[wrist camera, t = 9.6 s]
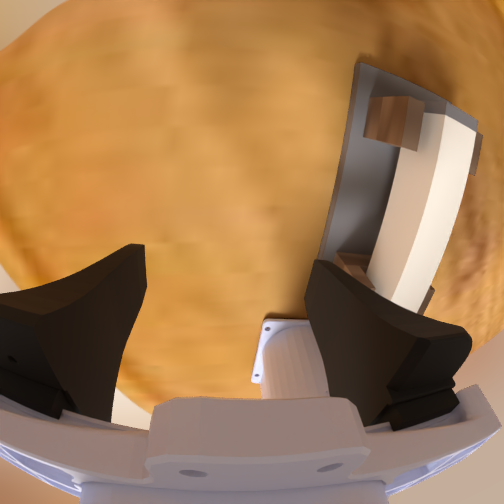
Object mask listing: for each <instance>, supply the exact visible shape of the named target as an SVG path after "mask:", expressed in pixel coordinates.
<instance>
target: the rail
mask: <svg viewBox="0 0 504 504" xmlns="http://www.w3.org/2000/svg"><path fill="white" fill-rule="evenodd" d="M421 102H423V103H425V108H424V115H423V121H422V127H421V133H420V139H419V144H418V149H417V152H416V151H412V150H409V149H405V148H402V147H401V149H400V154H399V159H398V163H397V168H396V172H395V177H394V181H393V185H392V189H391V193H390V197H389V201H388V204H387V208H386V212H385V215H384V219H383V222H382V226H381V229H380V232H379V235H378V239H377V242H376V245H375V248H374V251H373V254H372V257H371V260H370V263H369V266H368V269H367V272H366V276H367V277H368V278H369V280H370V281H371V282H372V284H373V285H374V287H375V288H376V289H375V292H376V293H378V294H379V295H381V296H383V297H384V298H386V299H388V300H390V301H392V302H393V303H395V304H397V305H399V306H401V307H403V308H406V309H408V310H410V311H413V312H415V313H417V312H418V310H419V308H420V306H421V304H422V302H423V300H424V298H425V295H426V293H427V291H428V289H429V287H430V285H431V282H432V280H433V278H434V276H435V273H436V271H437V268H438V266H439V264H440V261H441V259H442V256H443V254H444V251H445V248H446V246H447V243H448V240H449V237H450V235H451V232H452V229H453V226H454V223H455V220H456V217H457V213H458V210H459V207H460V203H461V200H462V196H463V193H464V189H465V185H466V181H467V177H468V173H469V168H470V164H471V159H472V154H473V149H474V143H475V137H476V133H477V126H478V120H476V119H475V118H473V117H472V116H470V115H468V114H467V113H465V112H464V111H462V110H460V109H459V108H457V107H455V106H453V105H452V104H450V103H448V102H442V101H421Z"/></svg>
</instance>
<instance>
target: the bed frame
mask: <svg viewBox="0 0 504 504" xmlns="http://www.w3.org/2000/svg"><path fill="white" fill-rule="evenodd" d="M421 101H442V102H448V103H450V104H452V103H451V102H449V101H447V100H445V99H444V98H442V97H440V96H438V95H436V94H434V93H432V92H430V91H428V90H426V89H424V88H422V87H420V86H418V85H416V84H414V83H412V82H410V81H407V80H405V79H403V78H401V77H398V76H396V75H393V74H391V73H389V72H386V71H383V70H381V69H378V68H376V67H373V66H370V65H367V64H365V63H362V62H360V63H357V64H355V69H354V77H353V84H352V91H351V98H350V105H349V111H348V117H347V123H346V129H345V135H344V140H343V146H342V151H341V157H340V162H339V167H338V172H337V177H336V181H335V186H334V191H333V195H332V200H331V204H330V209H329V213H328V217H327V222H326V226H325V230H324V234H323V238H322V242H321V246H320V250H319V254H318V258H317V260H328V261H330V262H332V263H334V264H335V265H337V266H338V267H340V268H341V269H343V270H344V271H345V272H347V273H348V274H350V275H351V276H352V277H354V278H355V279H357V280H358V281H359V282H361V283H362V284H364V285H365V286H367V287H368V288H370V289H371V290H373V291H374V292H375V289H376V288H375V287H374V285H373V284H372V282H371V281H370V280H369V278H368V277H367V276H366V272H367V269H368V266H369V263H370V260H371V257H372V254H373V251H374V248H375V245H376V242H377V239H378V235H379V232H380V229H381V226H382V222H383V219H384V215H385V212H386V208H387V204H388V201H389V197H390V193H391V189H392V185H393V181H394V177H395V172H396V168H397V163H398V159H399V154H400V149H401V147H402V148H405V149H409V150H412V151H416V152H417V149H418V144H419V139H420V133H421V127H422V121H423V115H424V108H425V103H423V102H421ZM482 138H483V135H482V134H480V133H479V132H477V133H476V137H475V143H474V149H473V154H472V159H471V164H470V168H469V174H472V175H474V176H475V174H476V169H477V165H478V160H479V155H480V150H481V144H482ZM434 291H435V289H434V288H433V287H432V286H431V285H430V287H429V289H428V291H427V293H426V295H425V298H424V300H423V302H422V304H421V306H420V308H419V310H418V312H417V314H420V315H423V314H424V312H425V310H426V308H427V306H428V304H429V302H430V300H431V298H432V296H433V294H434Z"/></svg>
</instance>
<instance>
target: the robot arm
mask: <svg viewBox="0 0 504 504" xmlns="http://www.w3.org/2000/svg"><path fill="white" fill-rule="evenodd" d="M146 288H147V279H146V265H145V246H144V245H142V244H129V245H126V246H124V247H123V248H121V249H119V250H117V251H115V252H114V253H112V254H110V255H109V256H107V257H105V258H103V259H102V260H100V261H98V262H96V263H94V264H92V265H90V266H89V267H87V268H85V269H83V270H81V271H79V272H77V273H75V274H72V275H70V276H67V277H65V278H63V279H60V280H57V281H54V282H51V283H48V284H45V285H42V286H38V287H34V288H31V289H26V290H21V291H16V292H9V293H2V294H0V457H2V458H3V459H5V460H6V461H8V462H10V463H11V464H13V465H15V466H16V467H18V468H20V469H21V470H23V471H25V472H27V473H28V474H30V475H32V476H34V477H36V478H38V479H40V480H42V481H44V482H46V483H48V484H50V485H52V486H54V487H56V488H58V489H61V490H63V491H65V492H68V493H70V494H72V495H75V496H77V497H80V501H79V504H389V502H388V499H387V498H388V497H389V496H390V495H393V494H395V493H398V492H400V491H402V490H405V489H407V488H409V487H411V486H414V485H416V484H418V483H420V482H422V481H424V480H426V479H428V478H430V477H432V476H434V475H436V474H438V473H440V472H441V471H444V470H445V469H447V468H449V467H451V466H453V465H455V464H456V463H458V462H460V461H461V460H463V459H464V458H466V457H467V456H468V455H470V454H471V453H472V452H474V451H475V450H476V449H477V448H479V447H480V446H481V445H482V444H484V443H485V442H486V441H487V440H488V439H490V438H491V437H492V436H493V435H494V434H495V433H496V432H497V431H499V429H501V427H502V425H501V423H500V422H499V420H498V418H497V416H496V414H495V413H494V411H493V409H492V408H491V406H490V404H489V402H488V401H487V399H486V397H485V396H484V394H483V393H482V391H481V389H480V388H479V386H478V385H477V384H475V385H472V386H469V387H467V388H464V389H462V390H460V391H459V392H457V393H456V394H455V393H454V391H453V390H452V388H453V387H454V386H455V382H454V380H453V378H452V377H453V376H454V375H455V373H456V372H457V371H458V369H459V368H460V367H461V365H462V364H463V363H464V361H465V360H466V358H467V357H468V355H469V353H470V351H471V348H472V338H471V336H470V335H469V334H468V333H467V331H466V330H465V329H464V328H463V327H461V326H457V325H453V324H449V323H445V322H441V321H437V320H434V319H431V318H428V317H425V316H423V315H420V314H417V313H415V312H413V311H410V310H408V309H406V308H403V307H401V306H399V305H397V304H395V303H393V302H392V301H390V300H388V299H386V298H384V297H383V296H381V295H379V294H378V293H376V292H374V291H373V290H371V289H370V288H368V287H367V286H365V285H364V284H362V283H361V282H359V281H358V280H357V279H355V278H354V277H352V276H351V275H350V274H348V273H347V272H345V271H344V270H343V269H341V268H340V267H338V266H337V265H335V264H334V263H332V262H330V261H328V260H317V259H315V260H314V264H313V268H312V272H311V275H310V279H309V283H308V286H307V290H306V294H305V297H304V300H305V305H306V311H307V316H308V319H309V320H297V319H265V320H264V321H263V324H262V329H261V334H260V339H259V343H258V348H257V353H256V357H255V362H254V367H253V371H252V376H251V382H253V383H260V386H261V394H262V399H241V398H218V397H203V396H200V397H176V398H174V399H171V400H169V401H167V402H164V403H162V404H160V405H157V406H155V407H154V410H153V414H152V417H151V423H150V429H149V430H143V429H138V428H132V427H128V426H123V425H118V424H114V423H111V416H112V407H113V400H114V393H115V387H116V382H117V377H118V372H119V367H120V363H121V359H122V355H123V351H124V348H125V345H126V342H127V340H128V337H129V335H130V333H131V330H132V328H133V325H134V323H135V320H136V318H137V316H138V313H139V311H140V308H141V306H142V303H143V299H144V296H145V292H146ZM266 327H270V328H266Z"/></svg>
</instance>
